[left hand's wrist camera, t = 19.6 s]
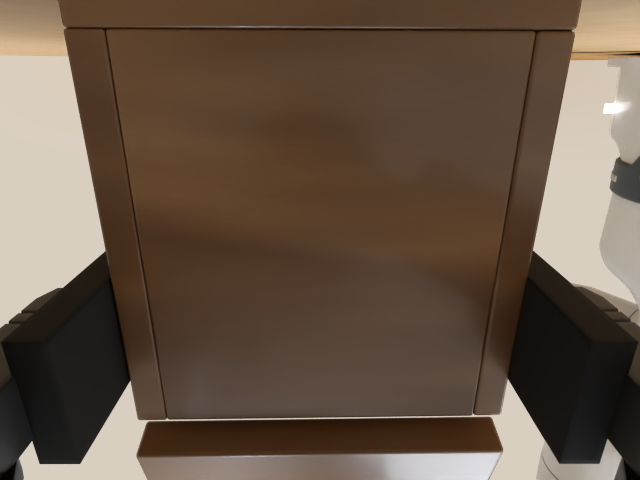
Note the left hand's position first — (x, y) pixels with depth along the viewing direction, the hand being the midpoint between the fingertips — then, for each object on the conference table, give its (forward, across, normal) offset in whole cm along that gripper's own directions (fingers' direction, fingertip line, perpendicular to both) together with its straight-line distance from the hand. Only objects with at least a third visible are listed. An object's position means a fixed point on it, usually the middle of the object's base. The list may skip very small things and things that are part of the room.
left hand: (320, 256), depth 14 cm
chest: (+4, 0, -7) cm, 8 cm away
